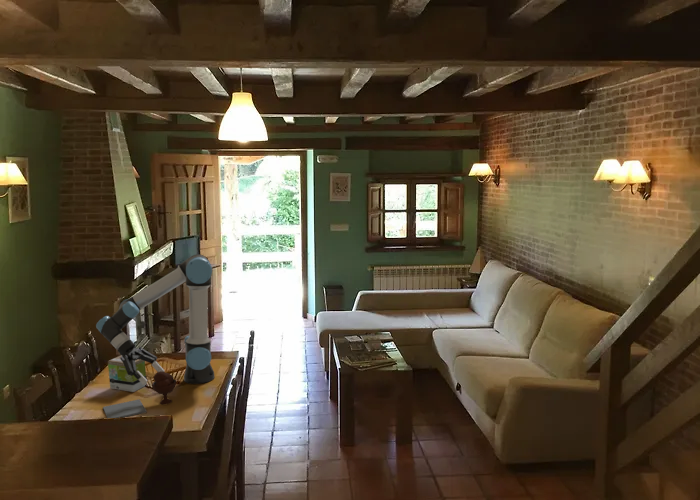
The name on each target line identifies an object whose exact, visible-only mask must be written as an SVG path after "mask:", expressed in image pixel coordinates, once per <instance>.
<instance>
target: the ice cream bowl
mask: <svg viewBox="0 0 700 500" xmlns="http://www.w3.org/2000/svg"><path fill="white" fill-rule="evenodd" d="M153 380H154V381H153V382H152V384H151V387H152V389H153V391H155V392H156V393H157V394H159V395H162V396H163V397H162V399H161V400H160V401H159V404H160V405H169V404H171V403H172V402H173V400H172V399H171V398H169V397H168V394H170V393H172V392H173V391H174V390H175V387H176V385H177V380H176V379H175V378H174V376H173V375H172V374H171V373H168V372H165V371H164V372H163V371H160V372H157V371H156V373H155V374H154V376H153Z"/></svg>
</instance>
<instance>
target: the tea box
mask: <svg viewBox="0 0 700 500" xmlns="http://www.w3.org/2000/svg"><path fill="white" fill-rule="evenodd" d="M121 357H122V355H121V354H119V355H118V356H117V357H114V358H112V359H110V360H107V367H108V379H109V380H108V381H109V389H112V390H119V391H126V392H131V393H135V392H137V391H138V390H139V391H140V390H141V389H143V388H145V387H146V386H147V385H148V384H147V383H148V381H147V382H146V384H147V385H146V384H145V385H146V386H145V385H143V384H142V383H141V382H140V381H139V380H138V379H137V378H136V377H135V376H134V375H133V376H131V375H128V374H127V371H126V369H125V366H124V364H123V362H122V360H121V359H120V358H121ZM135 365H136V372H137V371H139V372H140V373H141V374H142V375H143V376H144V377H145V378H146V379H147V374H146V373H147V371H146V361H144V360H141V359H140V360H139V359H138V360H135Z"/></svg>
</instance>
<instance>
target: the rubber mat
mask: <svg viewBox="0 0 700 500" xmlns="http://www.w3.org/2000/svg"><path fill="white" fill-rule="evenodd" d="M102 410H103V411H104V414H105V416H106V418H107V419H108V418H119V417H123V418H128V417H133V416H137V415H140V414H141V415H142V414H145V413H147V409H146V407H145V405H144V404H143V402H142V401H141V399H134V400H129V401H123V402H120V403H116V404H110V405H106V406H102ZM119 419H120V418H119Z"/></svg>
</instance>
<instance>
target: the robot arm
mask: <svg viewBox="0 0 700 500" xmlns="http://www.w3.org/2000/svg"><path fill="white" fill-rule="evenodd" d="M212 274H213V267H212V264H211V262H210V261H209V259H208V257H206V256H205V255H204V254H203V255H202V254H198V253H197V254H193V255H191V256H189V257H188V258H186V260H184V261H183V262H181V263H180V264H178V265H177V268H176V269H174V270H173V271H171V272H169V273H167V274H166V275H164V276H162V277H161V278H160V279H158V280H156V281H155V282H153V283H152V284H150V285H148V286H147V287H145V288H144V289H141V290H140V291H138V292H136V294H134V295H132V296H131V297H129V298H127V299H124V300H123V301H122V302H120V304H119V307H118V310H117V311H116V312H114V314H113V315H112V316H109V315H105V316H103V317H102V318H100V319H99V320H98V322H96V324H95V327H96V329H97V330H98V332H99V333H100V335H102V336H103V338H105V339H106V340H107V341H108V342H109V344H110V345H112V346H113V347H114V348H115V350H117V352H118V353H119V355H122V357H121V358H120V359H121V360H122V362H123V364H124V366H125V369H126V371H127V374H128V375H131V376H133V375H134V376H135V377H136V378H137V379H138V380H139V381H140V382H141V383H142V384H143V385H145V384H146V382H147V383H148V381H149V380H148V379H147V377H146V378H145V377H144V376H143V375H142V374H141V373H140V372H139V371H137V372H136V365H135V360H138V359H139V360H140V359H141V360H144V361H145V363H148V364H149V363H150V364H151V366H152V367H153V368H154V370H155V371H156V373H157V372H160V371H163V372H165V371H166V370H165V369H164V368H163V367H162V366H161V364H160V363H159V362H158V361H157V360H158V357H157V356H156V355H154V354H152V353H151V352H150V351H147V350H146V349H144V348H143V347H142V346H139V347H138V348H136V344H135V342H133V340H131V339H130V337H129V335H127V334H126V333H125V332H124V331H123V330H122V329H124V328H125V327H126V326H127V325H128V324H129V323H130V322H131V321H132V320H133V319H134V318H136V317H137V315H139V313H140V310H142V309H144V308H145V307H147V306H148V305H150V304H151V303H153V302H155V301H156V300H158V299H160V298H162V297H163V296H164V295H166V294H168V293H169V292H171V291H173V290H174V289H175V288H177V287H179V286H180V285H182V284H184V283H185V286H186V287H187V288H188V290H189V291H188V293H189V295H188V297H189V298H188V299H189V300H188V301H189V303H188V304H189V307H188V308H189V309H188V310H189V311H188V312H189V313H188V317H189V318H188V322H189V323H188V325H189V327H188V329H189V330H188V335H187V336H185V337H184V341H183V342H184V348H185V361H186V363H185V364H186V367H185V370H184V371H185V372H184V375H183V381H184V383H186V384H189V385H199V384H204V383H210V382H211V381H213V380H214V379H215V371H214V369H213V367H212V364H211V361H212V353H211V350H212V349H211V347H212V346H211V342H212V341H211V338H210V337H209V334H208V327H209V326H208V325H209V324H208V321H209V320H208V318H209V316H208V311H209V309H208V308H209V305H208V303H209V296H208V295H209V293H208V292H209V288H210V287H211V285H212Z"/></svg>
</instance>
